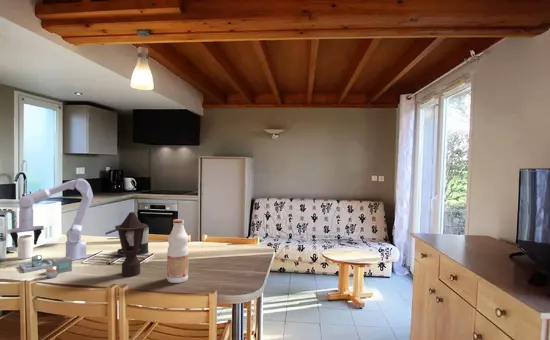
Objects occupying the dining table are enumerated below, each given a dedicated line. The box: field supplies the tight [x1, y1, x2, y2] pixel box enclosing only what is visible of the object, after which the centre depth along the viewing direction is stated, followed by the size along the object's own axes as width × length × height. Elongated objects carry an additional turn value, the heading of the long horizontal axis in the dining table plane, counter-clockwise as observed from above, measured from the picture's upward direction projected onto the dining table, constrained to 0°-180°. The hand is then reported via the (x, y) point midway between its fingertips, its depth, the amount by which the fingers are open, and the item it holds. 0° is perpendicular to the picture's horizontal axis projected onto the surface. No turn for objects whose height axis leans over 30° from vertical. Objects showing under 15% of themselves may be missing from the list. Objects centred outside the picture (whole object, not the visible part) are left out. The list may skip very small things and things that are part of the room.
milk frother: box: [116, 226, 150, 258], centre depth 183 cm, size 14×16×15 cm
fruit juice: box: [166, 218, 189, 284], centre depth 146 cm, size 9×9×28 cm
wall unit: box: [51, 256, 73, 275], centre depth 153 cm, size 7×5×6 cm
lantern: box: [114, 211, 149, 278], centre depth 152 cm, size 15×15×30 cm
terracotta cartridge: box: [45, 265, 58, 280], centre depth 145 cm, size 4×4×5 cm
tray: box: [18, 258, 52, 274], centre depth 158 cm, size 12×12×2 cm
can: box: [17, 234, 34, 261], centre depth 172 cm, size 6×6×12 cm
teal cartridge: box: [31, 254, 43, 267], centre depth 158 cm, size 4×4×5 cm
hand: (25, 245), depth 161 cm, fingers open, 7 cm apart
